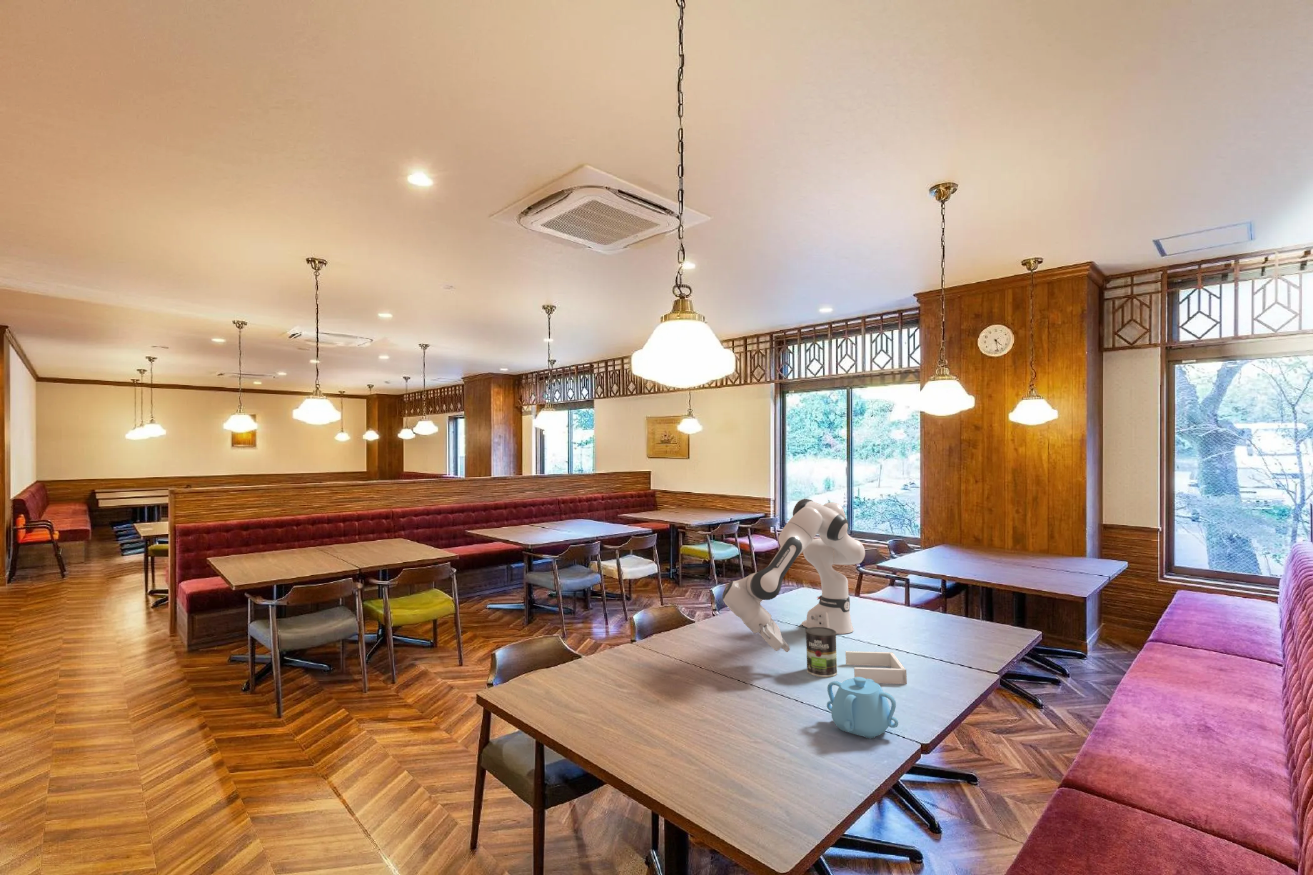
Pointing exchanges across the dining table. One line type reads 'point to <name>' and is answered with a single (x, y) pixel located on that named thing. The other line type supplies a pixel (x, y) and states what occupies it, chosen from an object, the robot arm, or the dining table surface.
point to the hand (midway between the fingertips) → (788, 649)
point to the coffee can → (821, 651)
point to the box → (877, 659)
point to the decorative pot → (861, 707)
